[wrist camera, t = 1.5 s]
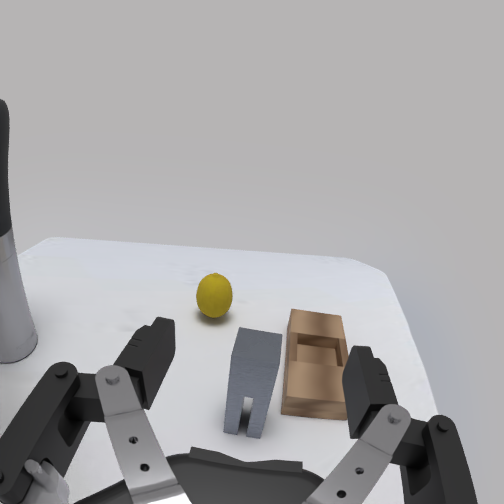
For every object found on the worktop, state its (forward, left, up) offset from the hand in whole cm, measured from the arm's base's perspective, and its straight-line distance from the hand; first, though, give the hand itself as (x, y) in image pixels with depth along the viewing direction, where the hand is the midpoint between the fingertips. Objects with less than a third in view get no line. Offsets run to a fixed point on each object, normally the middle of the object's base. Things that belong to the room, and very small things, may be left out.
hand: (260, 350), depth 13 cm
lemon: (-8, +29, -21) cm, 37 cm away
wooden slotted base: (+8, +21, -20) cm, 31 cm away
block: (0, +11, -20) cm, 23 cm away
